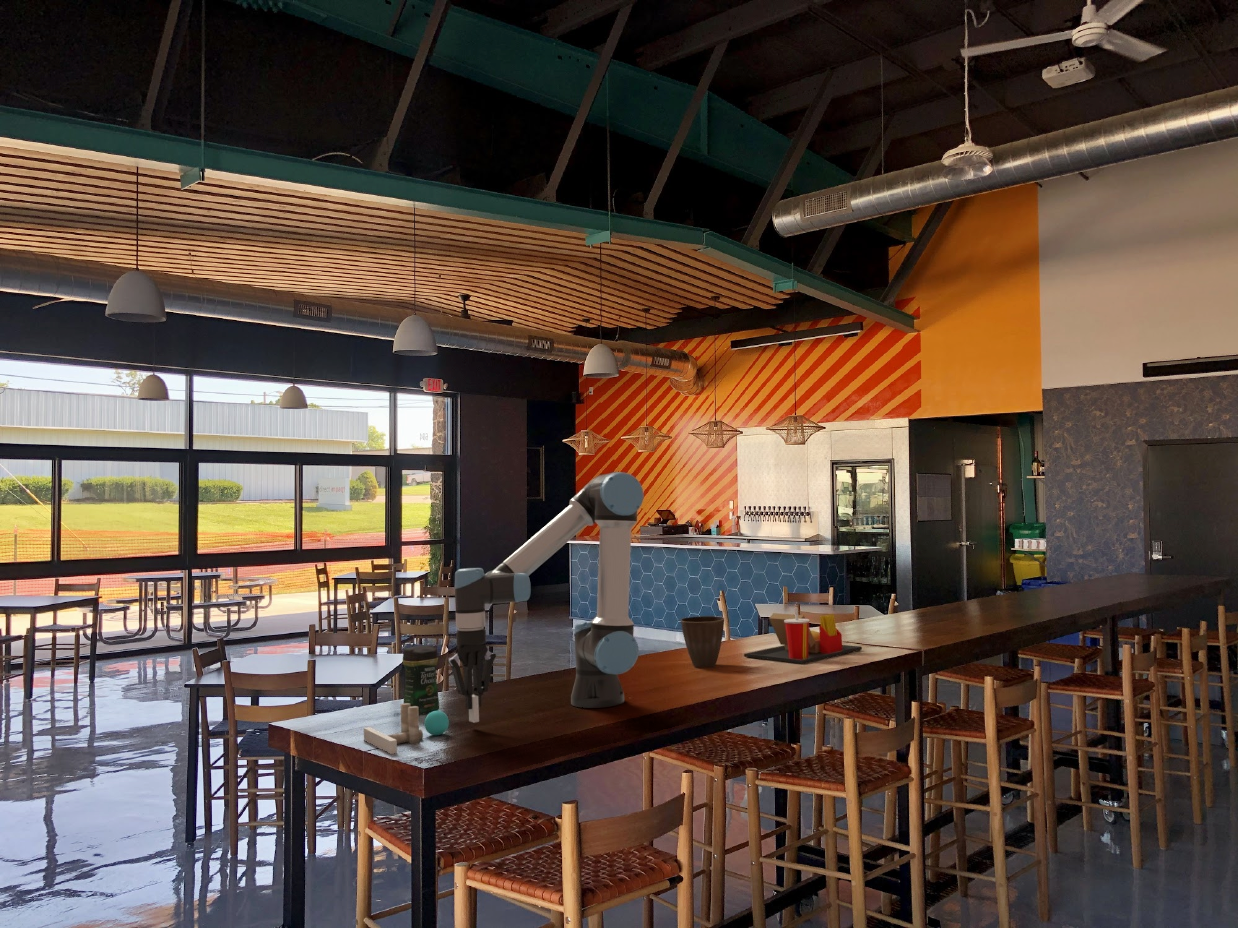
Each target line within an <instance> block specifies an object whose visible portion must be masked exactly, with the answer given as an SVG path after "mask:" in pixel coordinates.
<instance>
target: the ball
mask: <svg viewBox="0 0 1238 928" xmlns="http://www.w3.org/2000/svg"><path fill="white" fill-rule="evenodd" d="M423 724H424V725H423V726H424V729H425V731H426V732H427V733H428V734H429V735H432V736H441V735H443V734H444V733H446V731H447V730H448V728H449V725H450V721H449V717H448V715H447V714H446V713H445V712H444V711H441V710H438V711H433V712H431V713H428V714H426V717H425V719H424V722H423Z"/></svg>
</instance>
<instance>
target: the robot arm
mask: <svg viewBox="0 0 1238 928" xmlns="http://www.w3.org/2000/svg"><path fill="white" fill-rule="evenodd" d="M643 501H644V489H643V487H642V484H641V483H640V481H639V480H638V478H636V477H635V476H634V475H633V474H630V473H627V472H621V471H616V472H610V473H605V474H604V473H603V474H600V475H598V476H596V477H594V478H592V479H591V480H590V481H589V482H588V483H587V484H586V485H584V486H583V488H582V489H580V490H579V492H577V493H576V494H575V495H574V496H573V497H571V499H569V503H568V504H569V505H568V506H567V507H565V508H564V509H563V510H562V511H561V512H560V513H559V514H557V515H555V517H554V518H553V519H551V520H550V521H549V522H548V523H547V524H546V525H545V526H544V527H542V528H541V529H540V530H539V531H537V532H536V533H535V534H534V535H533V536H531V537H530V539H528V540H527V541H526V542H525V543H524V544H523V545H521V546H519V548H518V549H516V550H515V551H514V552H513V553H512V554H511V555H509V557H507V558H506V559H505V560H503V562H501V563H500V564H499V565H498V566H496V568H494V569H493V570H489V571H487V572H486V573H485V572H484V569H483V568H482V567H467V568H459V569H457V570H456V571H455V573H454V601H455V627H456V628H457V630H456V631H455V633H456V636H455V637H456V650H455V654H454V655H453V656H452V657H449V658H447V663H448V665H450V668H451V671H452V675H453V680H454V682H455V686H456V691H457V694H458V695H462V696H464V697H465V698H464V699H465V709H466V710H468V722H471V723H474V724H475V723H479V722H480V712H479V711H480V708H482V696H483V695H484V693H485V692H488V691H489V686H490V682H491V681H490V680H491V675H492V670H493V669H492V668H493V664H494V661H495V659H496V656H497V654H496V653H493V652H491V651H489V649H488V646H487V645H486V644H487V632H486V631H487V630H486V629H485V627H486V605H492V604H506V603H519V602H521V603H522V602H526V601H528V600H529V599H530V597H531V591H532V589H531V581H530V577H529V576H530V575H531V574H532V573H534V572H535V571H536V570H537V569H538V568H539V567H540V566H541V565H543V564H544V563H545V562H546V561H547V560H548V559H550V558H551V557H552V556H553V555H554V554H555V553H557V552H558V551H559V550H560V549H561V548H563V546H565V544H567V543H568V542H569V541H571V539H573V538H574V537H575V536H576V535H578V534H579V532H580V531H582V530H583V529H584V528H586V527H587V526H590V527H591V526H594V525H595V524H597V525H598V526H599V541H598V542H599V545H598V546H599V547H598V551H599V553H598V572H597V573H598V575H597V577H598V578H597V603H596V605H597V606H596V616H595V617H594V618H593V619H592V620H591V621H585V622H578V623H576V624H575V626H574V632H573V637H574V652H575V653H574V655H575V673H576V674H575V680H574V684H573V688H572V692H571V694H570V704H571V705H572V706H573V707H577V708H582V707H583V708H584V709H599V708H600V709H601V708H610V707H615V706H619V705H622V704H624V703H625V693H624V690H623V686H622V684H621V681H620V679H619V676H618V675H620V674H625V673H627V672H628V671H629V670H631V668H633V667H634V666H635V664H636V662H637V660H638V657H639V652H640V650H639V645H638V642H637V640H636V638H635V637H634V631H635V630H634V627H635V626H634V625H635V623H634V622H633V620H632V619H631V618H630V617H629V606H630V604H629V603H630V581H631V580H630V577H631V576H630V574H631V571H630V570H631V551H632V550H631V546H632V545H631V544H632V528H633V527H634V526H635V525H637V523H638V511H639V509H640V507H642V504H643ZM483 660H484V661H483ZM482 662H484V663H482ZM459 663H461V664H462V668H463V675H462V671H461V667H460V665H459ZM482 664H483V665H482Z"/></svg>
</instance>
